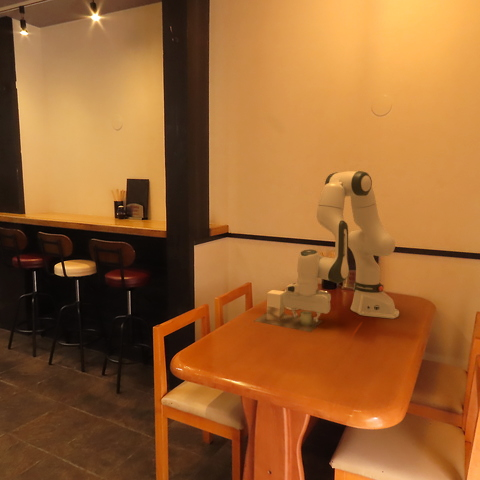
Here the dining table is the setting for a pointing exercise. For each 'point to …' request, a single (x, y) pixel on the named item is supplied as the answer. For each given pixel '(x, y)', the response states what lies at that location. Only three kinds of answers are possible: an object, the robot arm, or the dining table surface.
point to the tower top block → (275, 298)
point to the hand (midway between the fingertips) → (305, 319)
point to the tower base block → (275, 313)
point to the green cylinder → (305, 318)
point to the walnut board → (289, 322)
